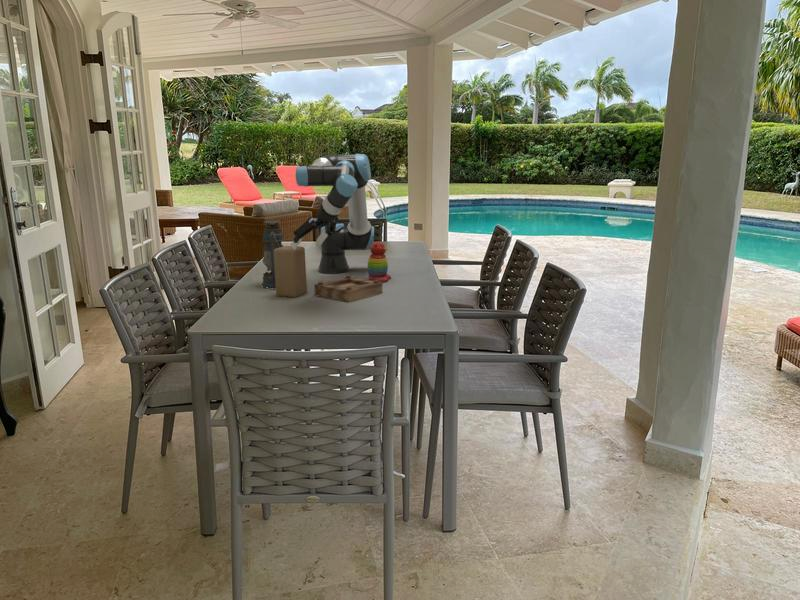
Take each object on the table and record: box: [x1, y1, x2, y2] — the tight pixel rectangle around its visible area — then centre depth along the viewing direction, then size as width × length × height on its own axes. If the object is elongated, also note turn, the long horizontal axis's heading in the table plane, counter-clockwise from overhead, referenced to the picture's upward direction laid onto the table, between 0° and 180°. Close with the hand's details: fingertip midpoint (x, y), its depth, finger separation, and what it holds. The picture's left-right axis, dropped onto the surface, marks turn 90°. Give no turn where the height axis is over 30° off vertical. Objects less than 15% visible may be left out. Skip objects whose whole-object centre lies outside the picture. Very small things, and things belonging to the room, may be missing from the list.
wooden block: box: [273, 245, 308, 298], centre depth 252 cm, size 10×10×20 cm
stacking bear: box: [367, 241, 392, 283], centre depth 279 cm, size 11×10×18 cm
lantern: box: [261, 218, 285, 289], centre depth 268 cm, size 19×14×30 cm
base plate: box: [314, 274, 383, 303], centre depth 253 cm, size 20×20×6 cm
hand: (305, 244), depth 242 cm, fingers open, 13 cm apart
